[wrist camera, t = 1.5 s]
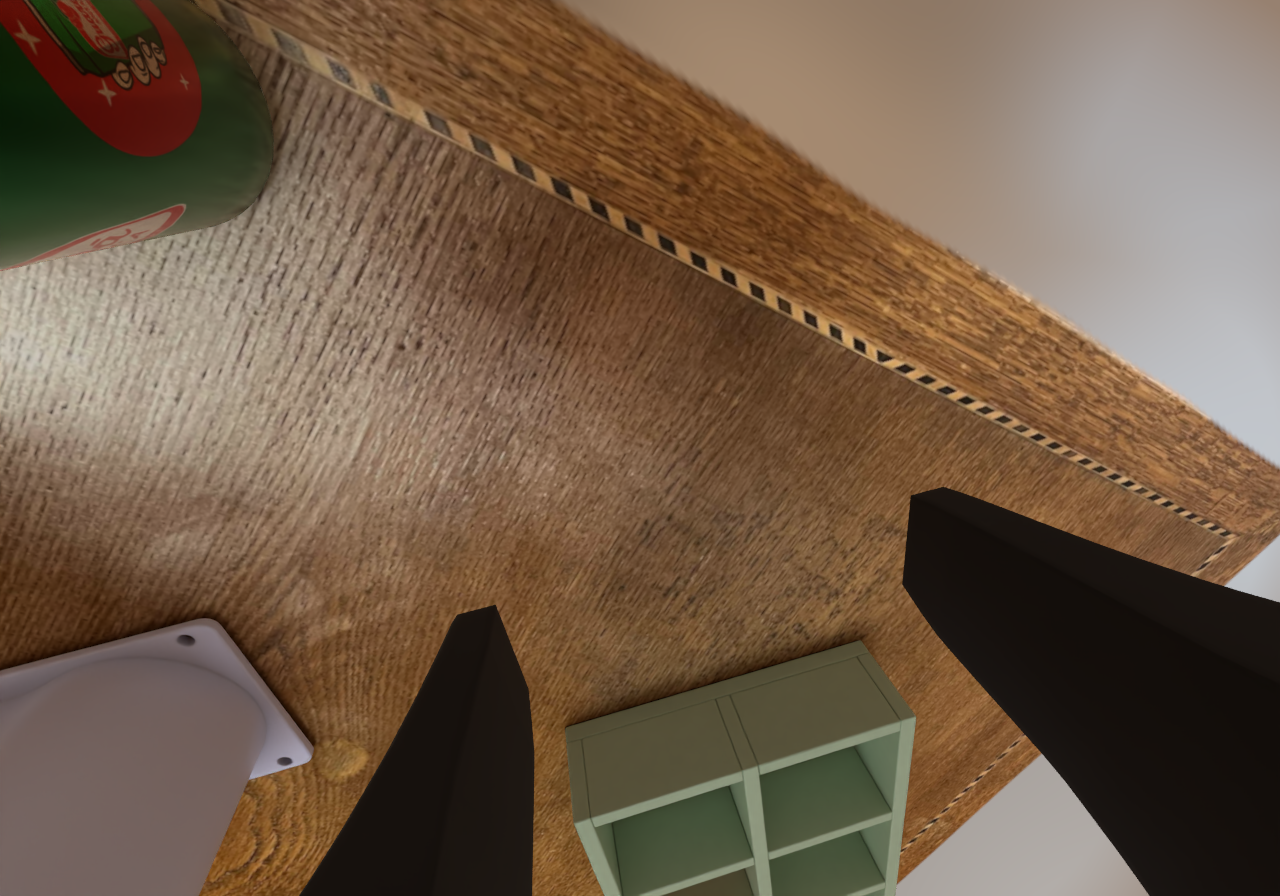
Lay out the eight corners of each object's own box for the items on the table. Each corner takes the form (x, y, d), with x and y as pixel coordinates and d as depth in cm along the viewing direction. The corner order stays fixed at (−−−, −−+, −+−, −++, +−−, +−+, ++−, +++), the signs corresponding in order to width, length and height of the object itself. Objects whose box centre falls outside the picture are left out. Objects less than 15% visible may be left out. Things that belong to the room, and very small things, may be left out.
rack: (642, 932, 36) (657, 1022, 32) (564, 727, 25) (573, 824, 22) (852, 861, 37) (890, 939, 34) (860, 639, 27) (917, 716, 23)
